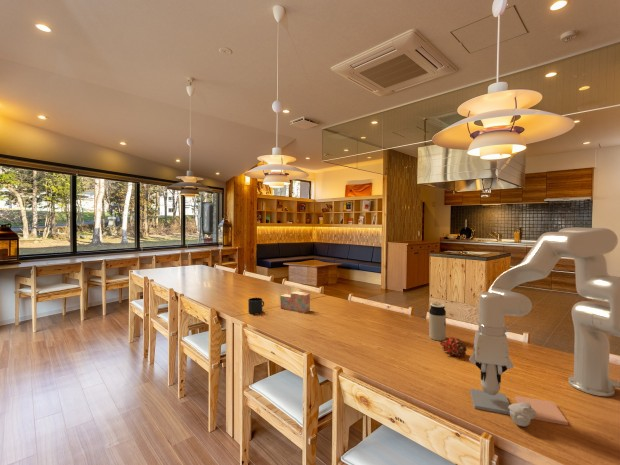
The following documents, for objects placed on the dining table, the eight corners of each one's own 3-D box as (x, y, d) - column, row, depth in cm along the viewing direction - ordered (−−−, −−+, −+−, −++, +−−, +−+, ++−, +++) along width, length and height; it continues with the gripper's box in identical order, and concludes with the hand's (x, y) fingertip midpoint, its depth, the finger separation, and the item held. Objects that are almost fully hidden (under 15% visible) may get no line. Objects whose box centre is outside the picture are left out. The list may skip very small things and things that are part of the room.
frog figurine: (534, 435, 88) (535, 411, 88) (506, 425, 93) (506, 402, 92) (536, 425, 93) (537, 402, 92) (509, 415, 97) (510, 393, 97)
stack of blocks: (280, 308, 220) (280, 291, 220) (285, 306, 226) (285, 289, 225) (305, 313, 209) (305, 295, 209) (310, 310, 214) (310, 293, 214)
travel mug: (426, 338, 162) (427, 304, 161) (432, 334, 167) (432, 301, 167) (442, 342, 156) (442, 307, 156) (447, 338, 162) (448, 304, 161)
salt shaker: (482, 385, 108) (483, 349, 108) (501, 391, 105) (502, 353, 104) (479, 392, 104) (479, 354, 103) (498, 398, 100) (499, 359, 100)
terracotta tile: (553, 404, 103) (553, 401, 103) (567, 425, 92) (567, 422, 92) (514, 398, 106) (515, 395, 106) (524, 417, 96) (524, 414, 96)
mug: (268, 311, 213) (268, 298, 213) (253, 315, 205) (253, 301, 204) (260, 308, 220) (260, 296, 219) (245, 312, 211) (245, 299, 211)
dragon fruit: (467, 363, 136) (441, 358, 145) (472, 347, 141) (447, 343, 150) (460, 350, 134) (434, 346, 143) (465, 335, 138) (440, 332, 148)
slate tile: (505, 396, 107) (505, 394, 107) (513, 415, 97) (513, 412, 97) (469, 391, 111) (469, 388, 111) (474, 408, 101) (474, 405, 101)
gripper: (516, 328, 104) (515, 382, 105) (463, 323, 110) (462, 374, 110) (523, 336, 97) (522, 393, 98) (465, 330, 103) (465, 384, 103)
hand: (490, 382), depth 104 cm, fingers closed on salt shaker, 3 cm apart
